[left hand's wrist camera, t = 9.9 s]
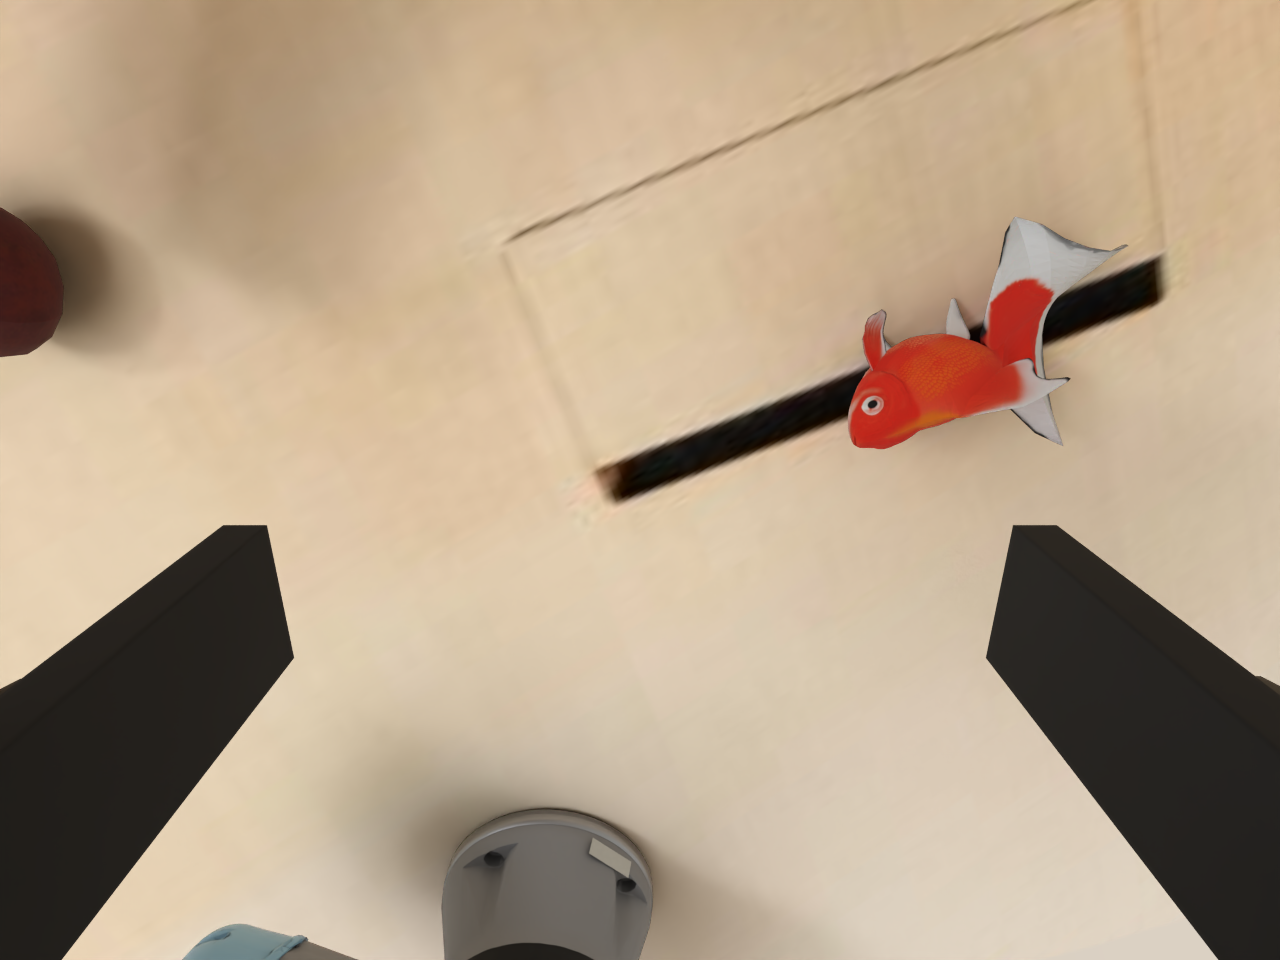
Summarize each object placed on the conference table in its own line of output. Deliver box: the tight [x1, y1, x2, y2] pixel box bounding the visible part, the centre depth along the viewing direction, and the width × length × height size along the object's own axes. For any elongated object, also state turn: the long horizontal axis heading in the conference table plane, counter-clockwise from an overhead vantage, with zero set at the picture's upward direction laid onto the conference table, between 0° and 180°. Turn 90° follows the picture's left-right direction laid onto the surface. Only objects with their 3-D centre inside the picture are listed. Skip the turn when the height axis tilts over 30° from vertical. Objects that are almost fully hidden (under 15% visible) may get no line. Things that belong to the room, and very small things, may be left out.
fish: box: [848, 217, 1128, 449], centre depth 35 cm, size 11×16×10 cm
